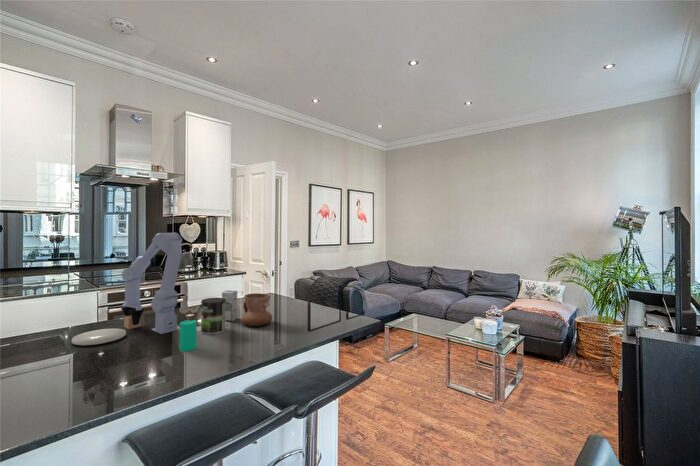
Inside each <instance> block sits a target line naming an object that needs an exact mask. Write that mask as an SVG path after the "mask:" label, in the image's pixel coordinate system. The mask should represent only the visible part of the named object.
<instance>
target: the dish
mask: <svg viewBox="0 0 700 466" xmlns="http://www.w3.org/2000/svg"><path fill="white" fill-rule="evenodd" d="M125 336H127V330H125V329H123V328H101V329H96V330H89V331H85V332H82V333H79V334H77V335H75V336H73V337H72V338H71V343H72V345H76V346H92V345H93V346H95V345H100V344H106V343H110V342H115V341H118V340H119V339H122V338H124V337H125Z"/></svg>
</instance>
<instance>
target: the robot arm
mask: <svg viewBox="0 0 700 466" xmlns="http://www.w3.org/2000/svg"><path fill="white" fill-rule="evenodd" d="M151 241H152V242H151V244H150V245H149V246H148V248H147V249H146V251H144V254H143V255H139V256H137V257H135V260H134V262H133V263H132V264H130V265H129V267H128V268H124V269H123V271H122V272H121V277H122V279H123V281H124V300H123V304H122V305H121V307H120V309H121V311H122V313H123V315H124V316H128V315H131V317H132V323H133V325H138V324H139V321H140V318H141V317H142V315H143V313H144V311H145V309H144V308H142V307H143V306H142V304H141V300H140V298H141V293H140V292H141V291H140V290H141V289H140V288H141V282H142V279H143V277H144V272H145V270H147V268H148V267H149V266H150V265H151V260H152V258H154V256H155V255H156V254H157V253H159V252H160V251H162V252H164V253H165V254H166V256H167V257H166V259H165V265H164V268H163V269H164V270H163V274H162V278H161V284H160V288H159V289H158V290H157V291H156V292H155V294H154V296H153V298H152V300H151V302H150V306H151V309H152V310H153V311H154V314H155V315H154V316H155V320H154V321H155V326H154V327H153V328H151V331H154V332H155V333H158V334H160V335H164V334H166V333H167V334H168V333H171V332H175V331H176V332H177V331H180V327H179V328H178V316H177V314H176V313H175V311H174V310H175V309H176V308H175V307H176V306H177V304H178V292H177V291H176V290H175V286H176V281H177V276H178V273H179V268H180V263H181V259H182V256H183V255H182V253H183V249H182V243H183V239H182V237H181V235H180V234H179V233H178V232H176V231H175V232H158V233H156V234H155V235H154V236H153V237H152V240H151ZM124 316H123V317H124ZM141 319H142V318H141Z"/></svg>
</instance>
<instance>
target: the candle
mask: <svg viewBox="0 0 700 466" xmlns="http://www.w3.org/2000/svg"><path fill="white" fill-rule="evenodd" d="M197 321H198V320H196V319H192V320H190V319H186V320H183V321H180V322H179V351H180V350H181V351H180V352H185V351H186V352H191V351H190V350H192V351H194V350H193V349H195V348H196V349H197V324H198V323H197ZM196 349H195V350H196Z"/></svg>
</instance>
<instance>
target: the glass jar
mask: <svg viewBox="0 0 700 466" xmlns="http://www.w3.org/2000/svg"><path fill="white" fill-rule="evenodd" d="M200 302H201V303H200V304H201V313H200V314H201V315H200V316H201V319H200V321H201V322H200V323H201V325H200V333H201V334H202V333H204V334H203V335H217V333H218V334H221V332H222V333H224V332H225V331H226V321H225V302H226V299H224V298H222V297H207V298H203V299H201V301H200Z"/></svg>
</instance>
